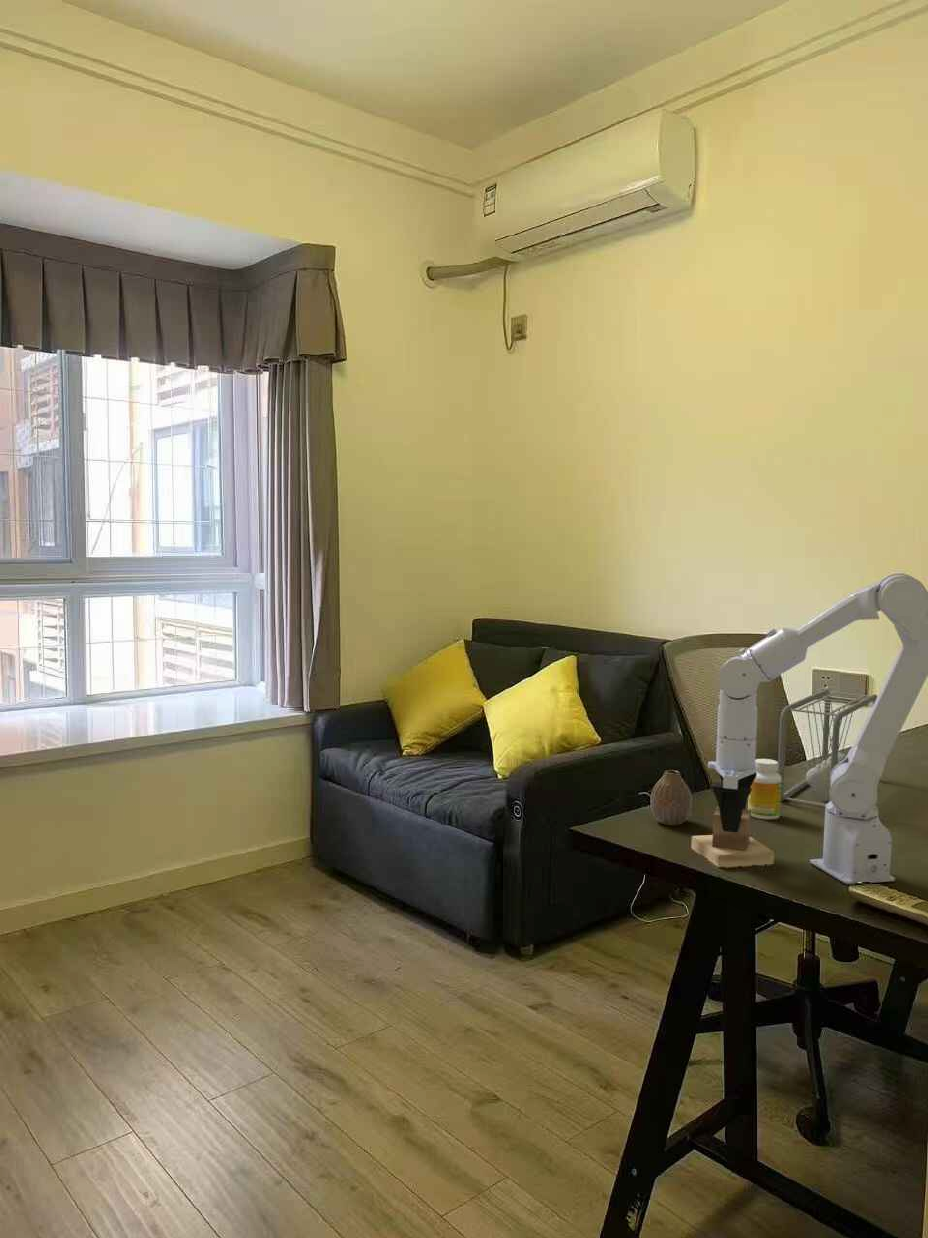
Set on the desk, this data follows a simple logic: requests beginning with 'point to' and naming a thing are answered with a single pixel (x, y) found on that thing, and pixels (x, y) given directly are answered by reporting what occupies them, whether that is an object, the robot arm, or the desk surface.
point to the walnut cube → (732, 833)
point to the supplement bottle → (765, 790)
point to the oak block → (732, 853)
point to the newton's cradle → (823, 770)
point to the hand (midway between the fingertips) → (732, 824)
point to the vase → (671, 799)
